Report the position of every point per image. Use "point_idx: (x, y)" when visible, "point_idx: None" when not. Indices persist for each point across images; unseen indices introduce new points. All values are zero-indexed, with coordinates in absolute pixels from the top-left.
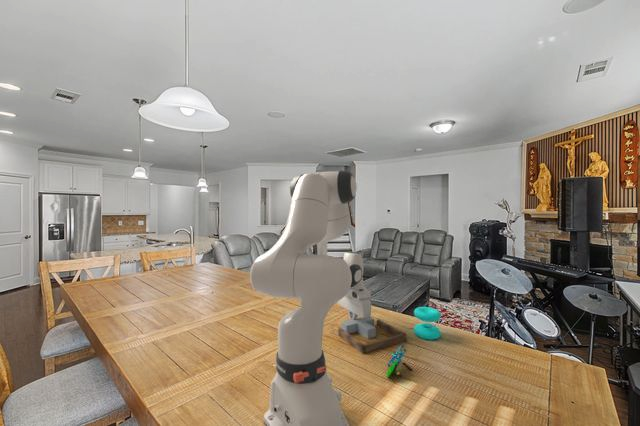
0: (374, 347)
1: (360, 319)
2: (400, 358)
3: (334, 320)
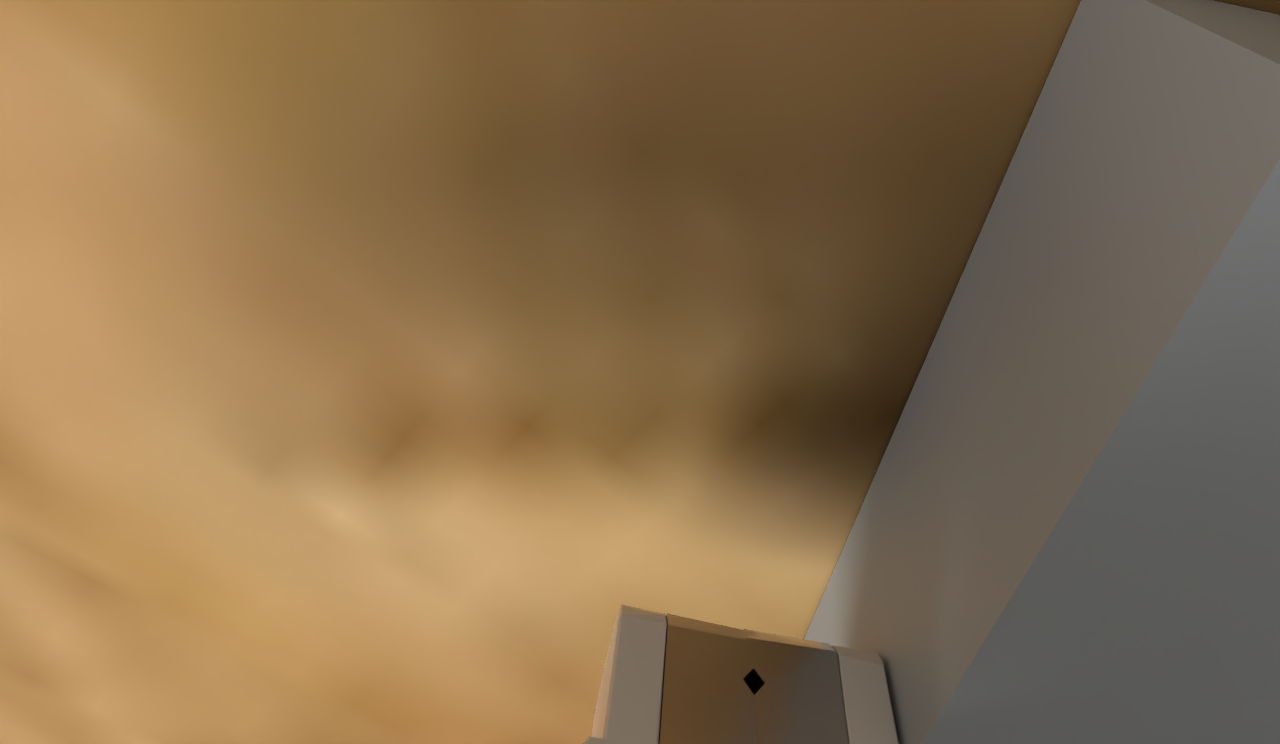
0: None
1: (1107, 736)
2: None
3: (100, 605)
